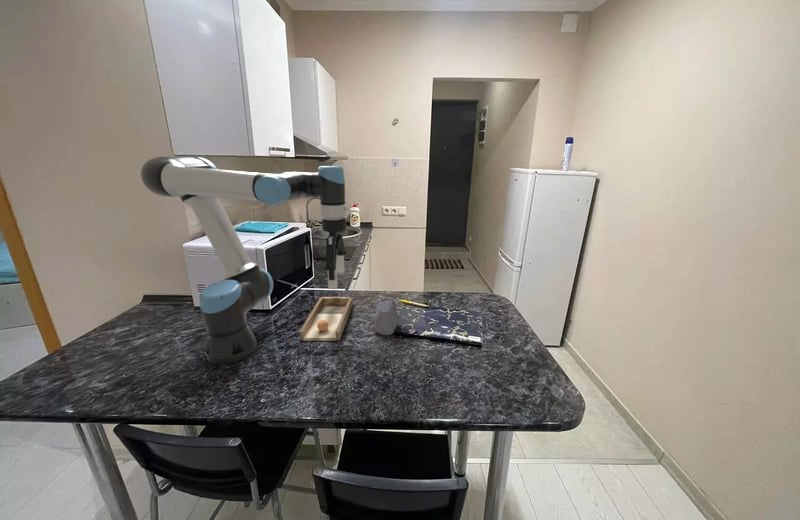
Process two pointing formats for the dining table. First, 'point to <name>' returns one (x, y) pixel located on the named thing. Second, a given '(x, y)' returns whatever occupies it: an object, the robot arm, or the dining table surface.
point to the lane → (327, 319)
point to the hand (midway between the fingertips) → (337, 280)
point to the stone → (386, 317)
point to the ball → (322, 325)
